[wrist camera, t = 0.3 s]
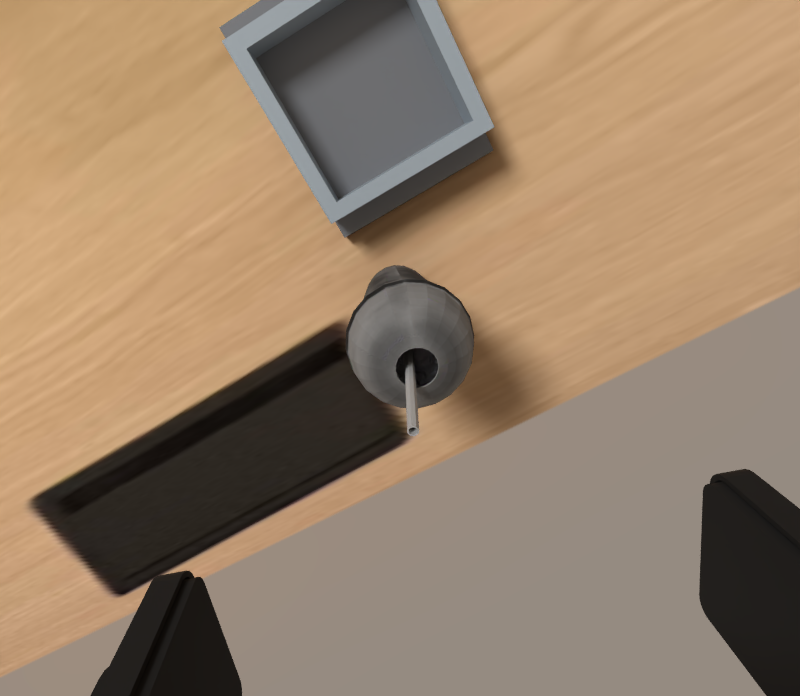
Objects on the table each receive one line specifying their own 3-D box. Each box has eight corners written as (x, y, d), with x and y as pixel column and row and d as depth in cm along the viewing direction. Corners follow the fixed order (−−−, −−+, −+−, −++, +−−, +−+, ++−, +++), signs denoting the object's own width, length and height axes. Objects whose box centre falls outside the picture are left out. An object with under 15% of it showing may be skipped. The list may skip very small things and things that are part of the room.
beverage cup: (462, 277, 41) (549, 377, 22) (412, 355, 42) (454, 509, 24) (379, 228, 39) (397, 290, 20) (332, 311, 41) (307, 440, 22)
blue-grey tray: (384, -75, 33) (387, -106, 29) (490, 150, 38) (504, 149, 34) (223, 31, 34) (206, 14, 30) (345, 235, 39) (343, 243, 35)
